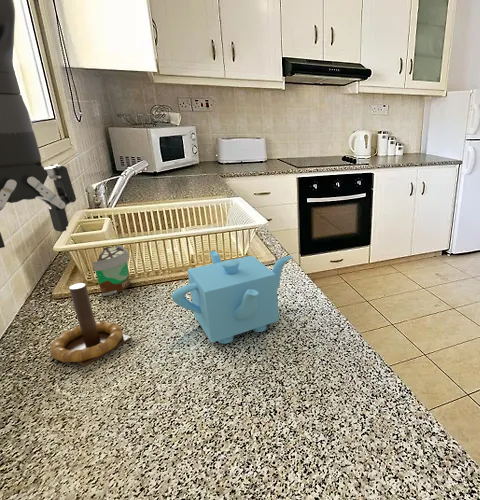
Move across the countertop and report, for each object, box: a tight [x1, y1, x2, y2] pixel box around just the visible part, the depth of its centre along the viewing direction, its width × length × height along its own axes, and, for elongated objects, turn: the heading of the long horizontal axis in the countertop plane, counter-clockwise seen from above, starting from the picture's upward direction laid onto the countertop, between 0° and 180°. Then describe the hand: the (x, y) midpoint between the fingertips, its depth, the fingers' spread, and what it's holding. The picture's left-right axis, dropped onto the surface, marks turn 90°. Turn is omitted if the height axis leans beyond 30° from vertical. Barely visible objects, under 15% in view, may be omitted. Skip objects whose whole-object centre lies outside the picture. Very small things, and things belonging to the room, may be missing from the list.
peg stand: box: [65, 282, 133, 368], centre depth 68 cm, size 9×9×14 cm
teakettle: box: [171, 250, 293, 345], centre depth 77 cm, size 19×19×15 cm
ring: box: [49, 321, 124, 363], centre depth 69 cm, size 11×11×2 cm
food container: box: [92, 245, 131, 297], centre depth 91 cm, size 12×6×10 cm, turn 22°
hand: (31, 238), depth 58 cm, fingers open, 8 cm apart
